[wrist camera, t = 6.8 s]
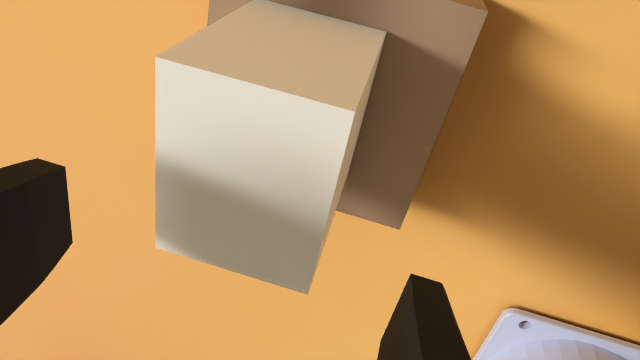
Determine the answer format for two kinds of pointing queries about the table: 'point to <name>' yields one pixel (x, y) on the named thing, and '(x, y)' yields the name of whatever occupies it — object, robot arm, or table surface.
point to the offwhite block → (259, 138)
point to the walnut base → (397, 92)
